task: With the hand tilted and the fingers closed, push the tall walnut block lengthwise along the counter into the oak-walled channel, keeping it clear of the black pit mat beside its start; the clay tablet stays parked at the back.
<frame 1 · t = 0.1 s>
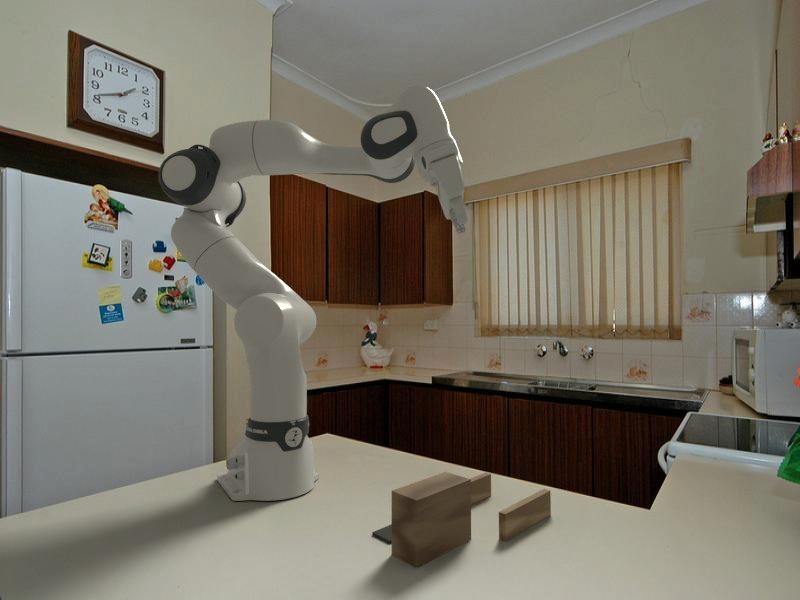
hand: (462, 228, 90), 52 cm above the countertop, tool tilted 20°, fingers open, 8 cm apart
channel: (494, 514, 78), on the countertop
pit mat: (395, 532, 71), on the countertop
walnut block: (432, 547, 67), on the countertop
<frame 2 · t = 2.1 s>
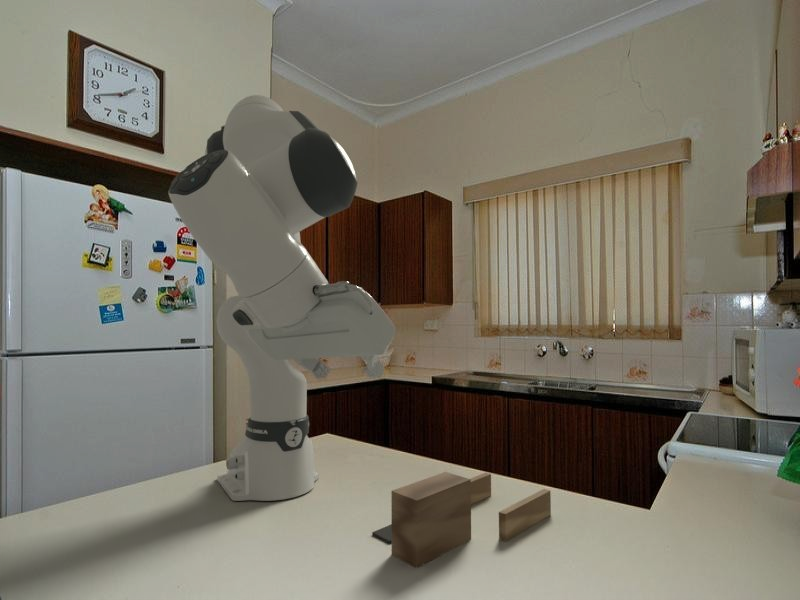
hand: (349, 374, 58), 26 cm above the countertop, tool tilted 45°, fingers open, 8 cm apart
nothing on the countertop moved.
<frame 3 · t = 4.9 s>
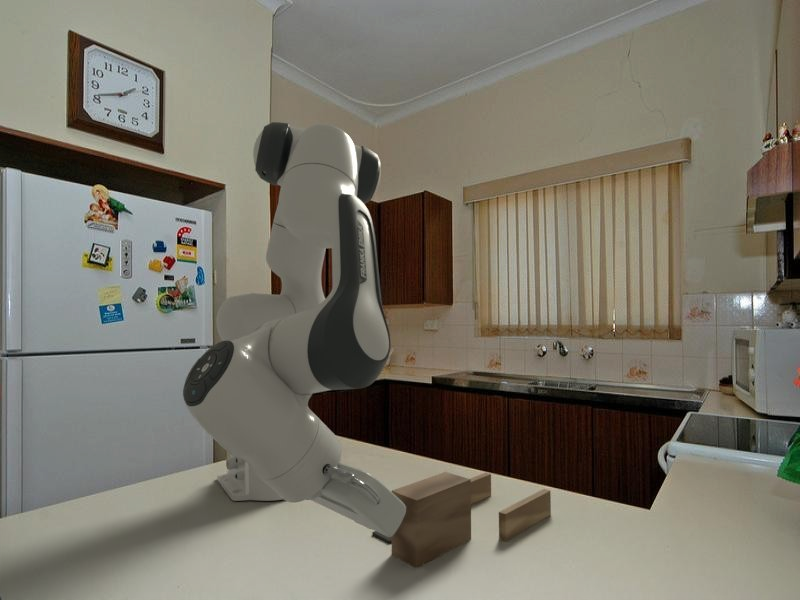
hand: (367, 520, 58), 7 cm above the countertop, tool tilted 45°, fingers closed
nothing on the countertop moved.
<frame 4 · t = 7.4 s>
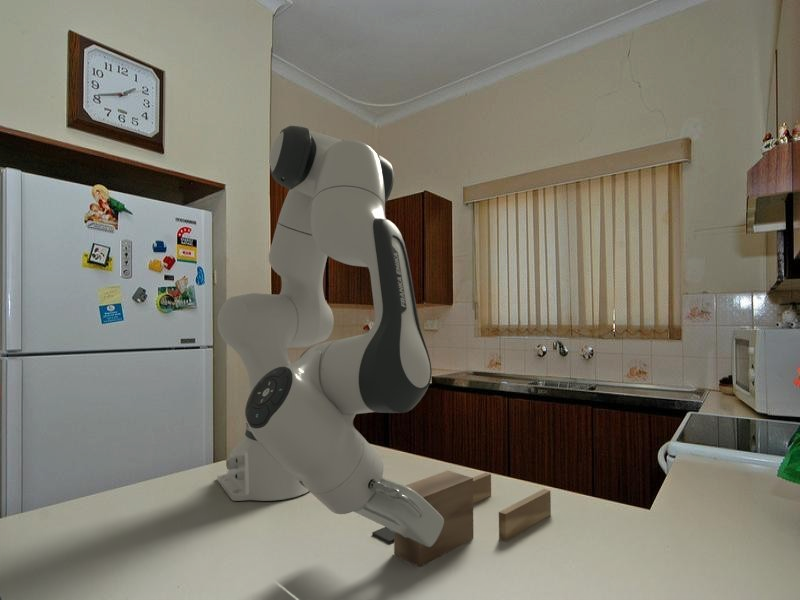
hand: (402, 529, 63), 4 cm above the countertop, tool tilted 45°, fingers closed, pressing on walnut block
walnut block: (435, 545, 67), on the countertop, touching gripper
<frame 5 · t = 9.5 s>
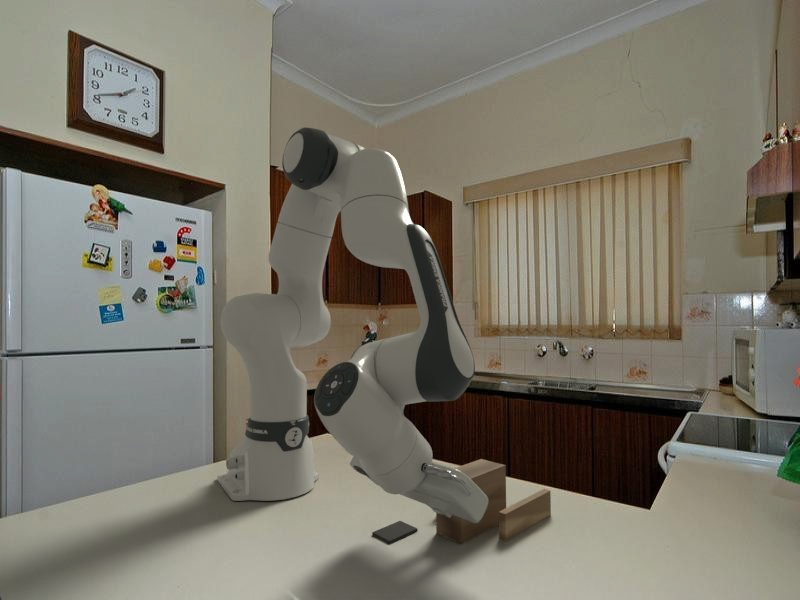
hand: (445, 510, 69), 4 cm above the countertop, tool tilted 45°, fingers closed, pressing on walnut block
walnut block: (472, 526, 74), on the countertop, touching gripper
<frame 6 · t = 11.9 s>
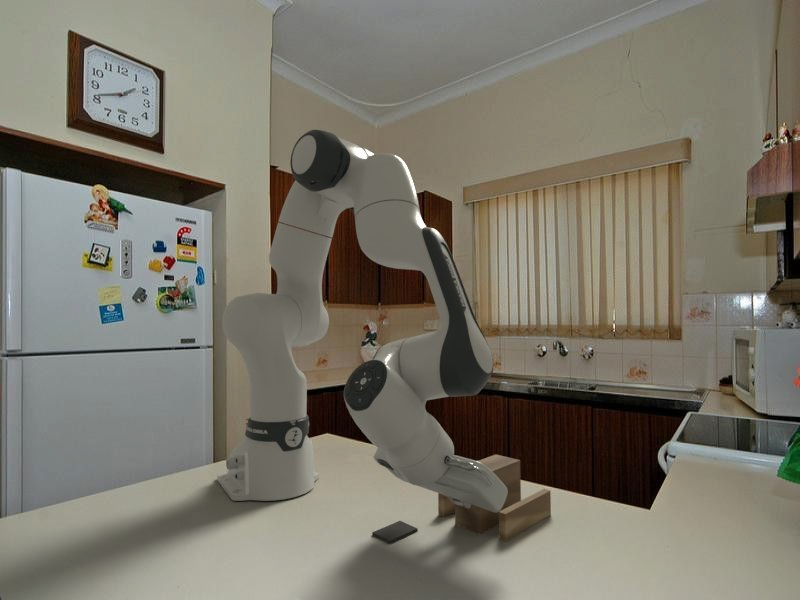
hand: (464, 502, 72), 4 cm above the countertop, tool tilted 45°, fingers closed
walnut block: (489, 518, 77), on the countertop
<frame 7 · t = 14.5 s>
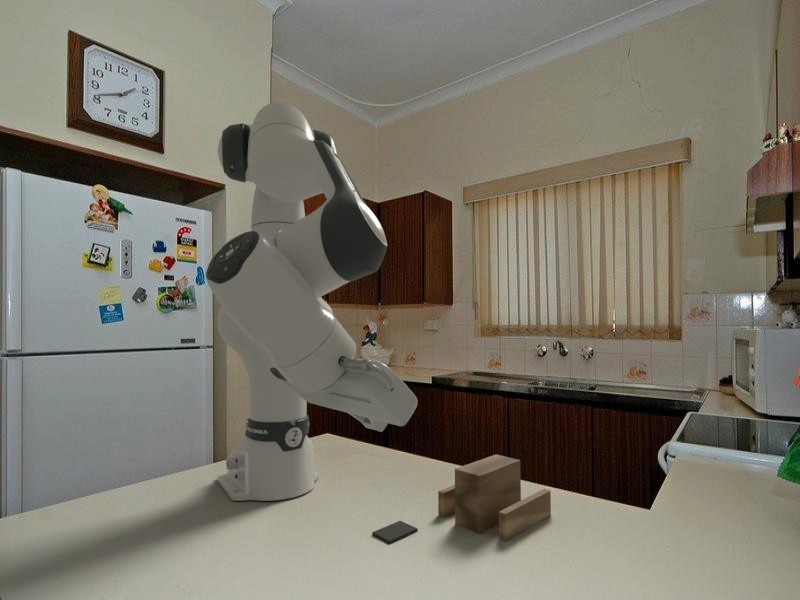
hand: (378, 425, 61), 19 cm above the countertop, tool tilted 45°, fingers closed
nothing on the countertop moved.
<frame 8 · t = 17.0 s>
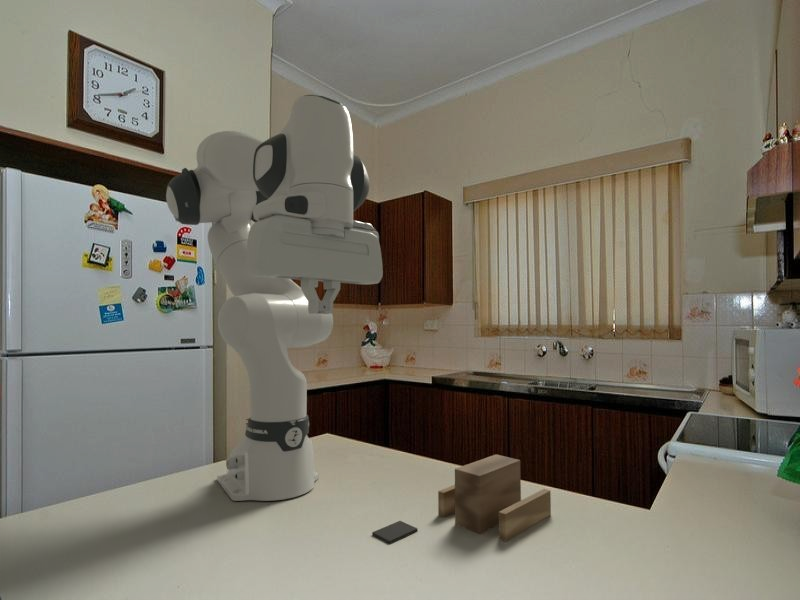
hand: (320, 314, 62), 34 cm above the countertop, tool pointing down, fingers closed
nothing on the countertop moved.
at the end: walnut block inside the target area (2.1 cm from its centre), on the countertop; walnut block tilted 0°; walnut block touching countertop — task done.
